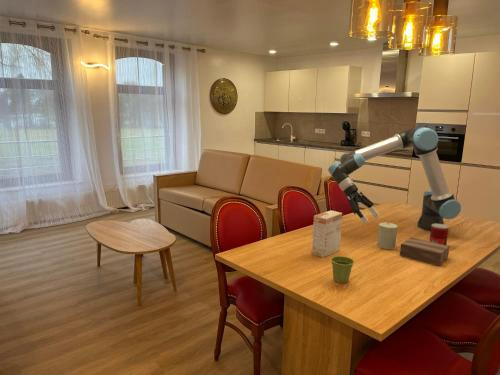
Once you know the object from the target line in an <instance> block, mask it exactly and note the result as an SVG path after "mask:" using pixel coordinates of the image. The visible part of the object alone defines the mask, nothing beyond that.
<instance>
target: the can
mask: <svg viewBox="0 0 500 375" xmlns="http://www.w3.org/2000/svg"><path fill="white" fill-rule="evenodd" d="M398 227H399V226H398V225H397V224H396V223H392V222H379V224H378V235H377V244H376V246H377V247H378V248H381V249H384V250H394V249H397V248H396V245H397V237H398V236H397V234H398Z"/></svg>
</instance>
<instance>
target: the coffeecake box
mask: <svg viewBox="0 0 500 375" xmlns="http://www.w3.org/2000/svg"><path fill="white" fill-rule="evenodd" d="M342 218H343V212H339V211H336V210H327V211H324V212H321V213H318V214H315V215H313V225H312V226H313V227H312V242H311V243H312V244H311V245H312V246H311V254H312V255H314V256H317V257H320V258H326V257H328V256H330V255H332V254H334V253H337V252H338V251H340V250H341V239H342V238H341V236H342V223H343V222H342V221H343V219H342Z"/></svg>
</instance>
